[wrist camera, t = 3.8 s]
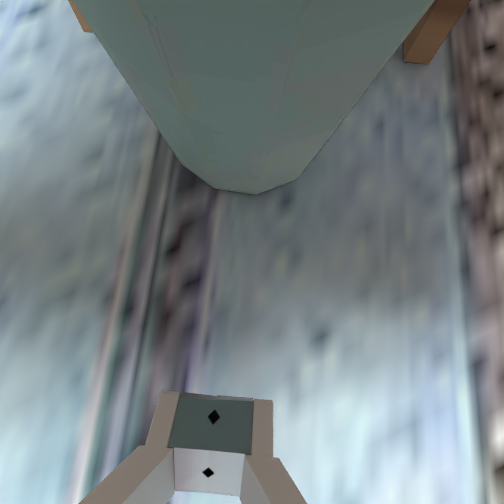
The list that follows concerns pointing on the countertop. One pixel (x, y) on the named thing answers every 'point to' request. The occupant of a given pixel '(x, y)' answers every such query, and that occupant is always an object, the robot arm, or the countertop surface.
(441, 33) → the dock cradle
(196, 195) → the countertop surface
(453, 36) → the countertop surface
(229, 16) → the disposable coffee cup
